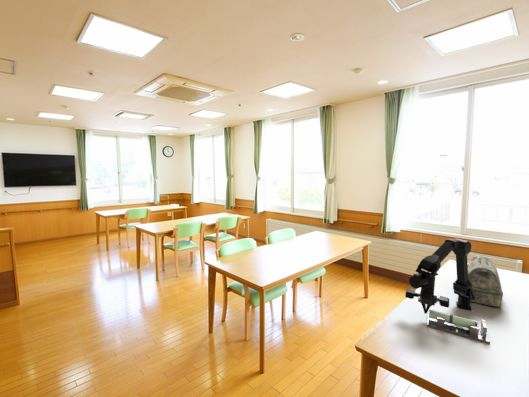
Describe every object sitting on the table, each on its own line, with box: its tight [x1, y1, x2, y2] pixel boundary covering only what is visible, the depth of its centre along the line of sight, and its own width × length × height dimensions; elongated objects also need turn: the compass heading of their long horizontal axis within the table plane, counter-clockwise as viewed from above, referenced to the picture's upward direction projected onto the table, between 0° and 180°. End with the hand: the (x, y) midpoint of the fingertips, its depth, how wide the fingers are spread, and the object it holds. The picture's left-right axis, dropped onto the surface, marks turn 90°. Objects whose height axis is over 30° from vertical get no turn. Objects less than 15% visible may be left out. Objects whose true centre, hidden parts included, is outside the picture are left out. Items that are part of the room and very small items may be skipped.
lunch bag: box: [468, 255, 504, 308], centre depth 161 cm, size 26×18×22 cm
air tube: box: [428, 308, 476, 328], centre depth 132 cm, size 4×18×4 cm, turn 56°
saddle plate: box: [426, 311, 491, 345], centre depth 131 cm, size 12×24×6 cm, turn 56°
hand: (425, 313), depth 138 cm, fingers closed
